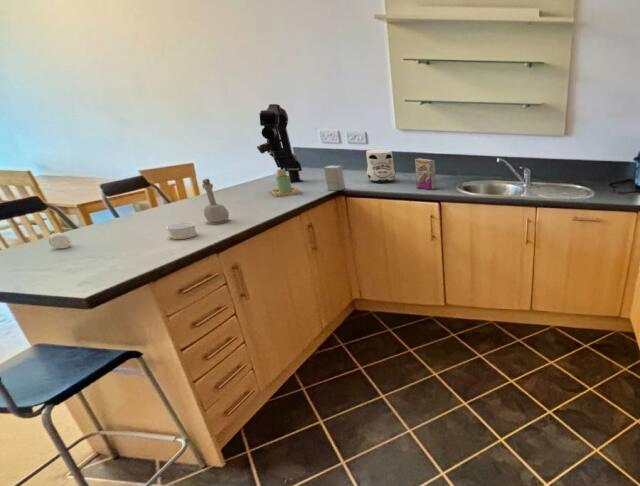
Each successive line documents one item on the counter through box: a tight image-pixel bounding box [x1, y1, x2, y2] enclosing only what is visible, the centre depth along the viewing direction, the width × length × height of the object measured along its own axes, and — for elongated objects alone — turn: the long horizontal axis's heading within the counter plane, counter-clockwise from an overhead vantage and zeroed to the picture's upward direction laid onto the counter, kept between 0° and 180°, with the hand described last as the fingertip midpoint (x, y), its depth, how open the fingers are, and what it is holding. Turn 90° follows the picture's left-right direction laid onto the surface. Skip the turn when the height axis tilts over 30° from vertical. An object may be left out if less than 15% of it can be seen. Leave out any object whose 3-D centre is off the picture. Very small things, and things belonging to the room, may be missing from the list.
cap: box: [276, 168, 287, 176], centre depth 222 cm, size 4×4×3 cm
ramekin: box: [166, 222, 197, 240], centre depth 160 cm, size 9×9×4 cm
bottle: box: [275, 174, 293, 193], centre depth 225 cm, size 6×6×12 cm
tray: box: [270, 186, 302, 198], centre depth 227 cm, size 12×12×1 cm
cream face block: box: [365, 149, 397, 183], centre depth 258 cm, size 17×17×18 cm
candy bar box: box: [414, 157, 437, 191], centre depth 244 cm, size 11×5×16 cm, turn 65°
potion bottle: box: [201, 178, 230, 225], centre depth 175 cm, size 9×9×18 cm
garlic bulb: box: [47, 232, 72, 249], centre depth 147 cm, size 6×6×5 cm
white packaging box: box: [323, 165, 346, 191], centre depth 236 cm, size 7×7×13 cm
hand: (280, 168), depth 221 cm, fingers open, 7 cm apart
